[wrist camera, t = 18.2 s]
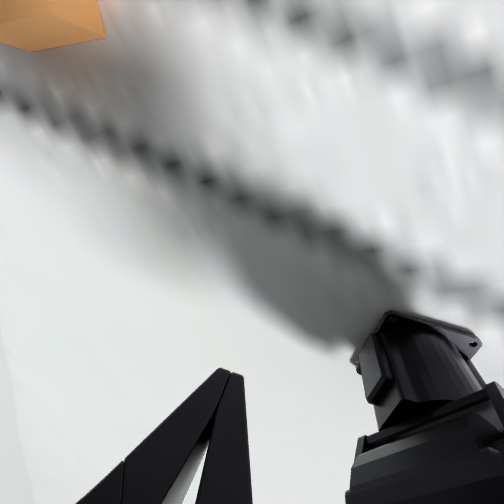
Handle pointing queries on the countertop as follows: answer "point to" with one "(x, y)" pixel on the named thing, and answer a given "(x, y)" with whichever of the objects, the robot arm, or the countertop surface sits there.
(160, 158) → the countertop surface
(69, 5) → the orange-brown rectangular block
